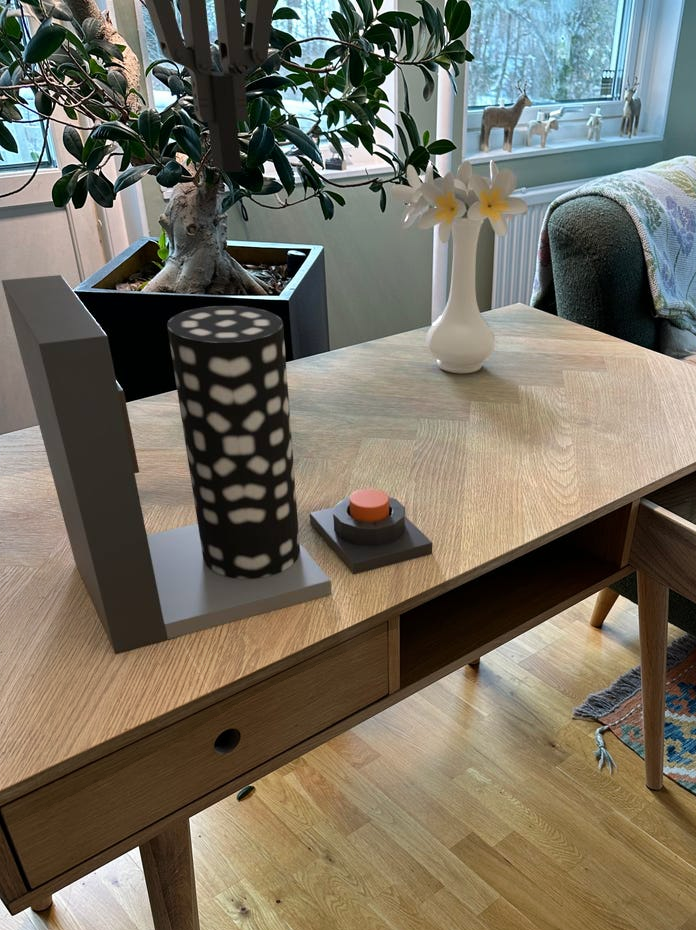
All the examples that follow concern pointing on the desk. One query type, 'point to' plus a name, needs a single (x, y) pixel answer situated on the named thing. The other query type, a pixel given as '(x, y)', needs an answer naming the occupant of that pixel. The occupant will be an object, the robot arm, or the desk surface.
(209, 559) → the white-spotted black cylinder
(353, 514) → the button
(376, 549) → the pad
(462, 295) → the flower vase
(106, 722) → the desk surface
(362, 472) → the desk surface
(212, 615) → the grey l-shaped bookend
